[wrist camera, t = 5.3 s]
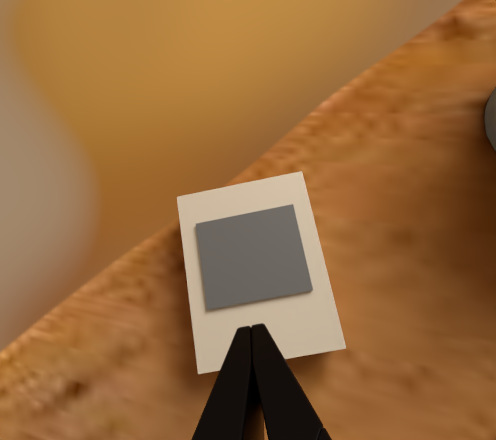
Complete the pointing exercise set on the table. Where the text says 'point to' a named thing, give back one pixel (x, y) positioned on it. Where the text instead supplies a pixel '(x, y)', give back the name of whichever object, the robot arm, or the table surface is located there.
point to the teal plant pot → (491, 119)
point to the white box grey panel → (256, 269)
